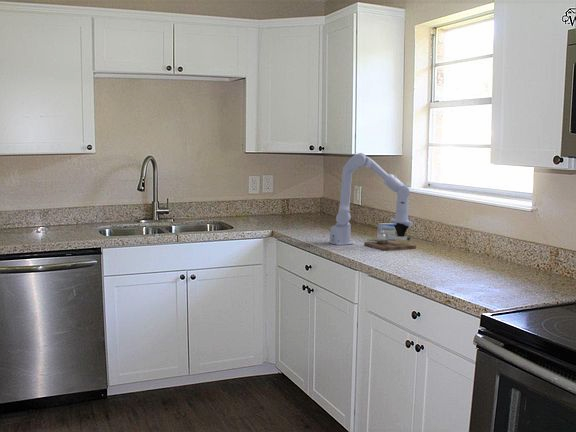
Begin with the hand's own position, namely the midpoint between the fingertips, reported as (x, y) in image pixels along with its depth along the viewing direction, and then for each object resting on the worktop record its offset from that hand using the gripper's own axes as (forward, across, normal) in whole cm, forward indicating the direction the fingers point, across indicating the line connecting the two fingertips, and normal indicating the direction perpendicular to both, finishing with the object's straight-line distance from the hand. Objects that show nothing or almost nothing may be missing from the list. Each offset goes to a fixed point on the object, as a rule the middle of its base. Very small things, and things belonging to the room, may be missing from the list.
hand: (400, 239), depth 312 cm
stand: (+3, +2, +5) cm, 6 cm away
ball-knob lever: (+2, 0, +4) cm, 4 cm away
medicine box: (+4, +18, -5) cm, 19 cm away
